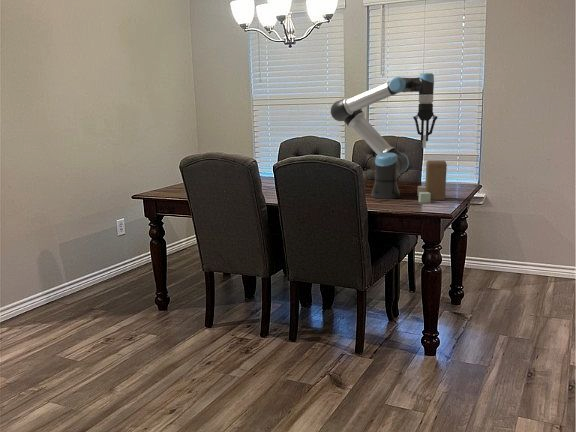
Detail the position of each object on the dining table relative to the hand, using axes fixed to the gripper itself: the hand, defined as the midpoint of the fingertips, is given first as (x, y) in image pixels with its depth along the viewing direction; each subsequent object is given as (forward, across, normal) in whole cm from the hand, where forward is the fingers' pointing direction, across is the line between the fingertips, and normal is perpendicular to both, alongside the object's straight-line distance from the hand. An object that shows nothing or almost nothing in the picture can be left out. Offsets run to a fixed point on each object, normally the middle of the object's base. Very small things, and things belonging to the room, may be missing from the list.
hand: (424, 147), depth 308 cm
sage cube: (+27, 0, -20) cm, 33 cm away
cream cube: (+27, 0, 0) cm, 27 cm away
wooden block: (+27, +6, -10) cm, 29 cm away
